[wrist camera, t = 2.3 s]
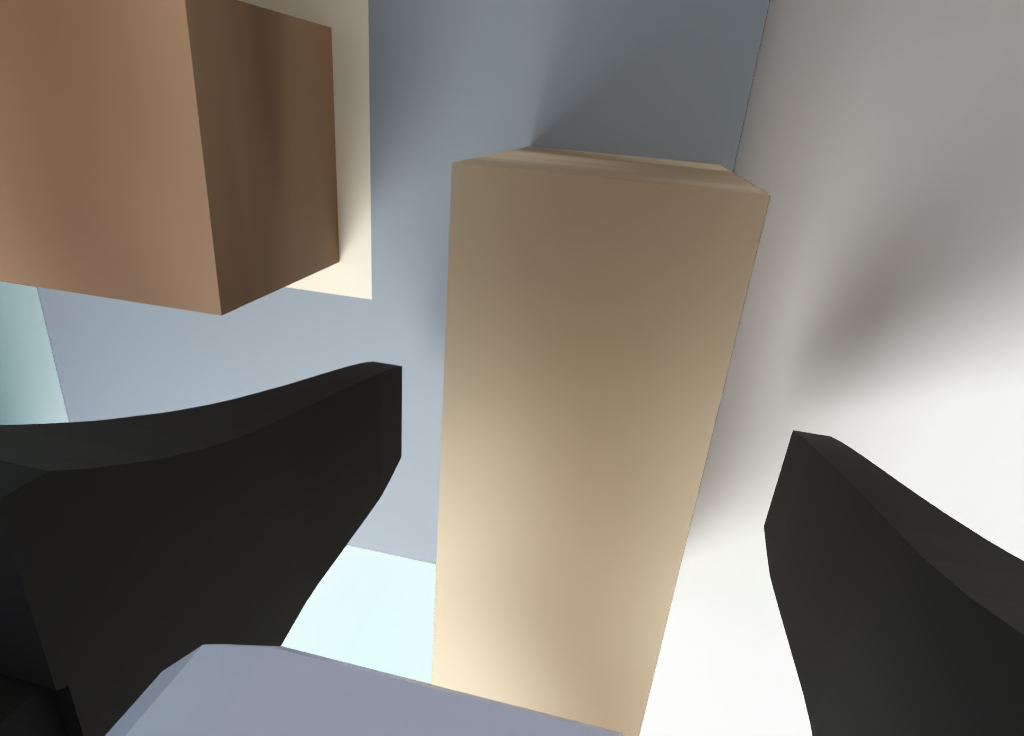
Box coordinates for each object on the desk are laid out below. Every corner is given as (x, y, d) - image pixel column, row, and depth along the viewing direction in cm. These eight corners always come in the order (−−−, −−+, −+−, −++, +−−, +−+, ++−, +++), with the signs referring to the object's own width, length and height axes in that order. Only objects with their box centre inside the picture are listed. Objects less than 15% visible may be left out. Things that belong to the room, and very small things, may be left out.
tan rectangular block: (493, 561, 15) (429, 744, 11) (530, 146, 11) (451, 162, 7) (632, 590, 15) (624, 796, 10) (720, 164, 11) (769, 195, 6)
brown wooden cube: (157, 237, 14) (-16, 278, 10) (124, 13, 12) (-101, -33, 8) (339, 261, 13) (221, 315, 10) (331, 28, 11) (183, -16, 8)
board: (93, 482, 18) (84, 488, 18) (-144, -539, 10) (-165, -557, 10) (638, 599, 15) (638, 608, 15) (906, -651, 7) (916, -681, 7)
